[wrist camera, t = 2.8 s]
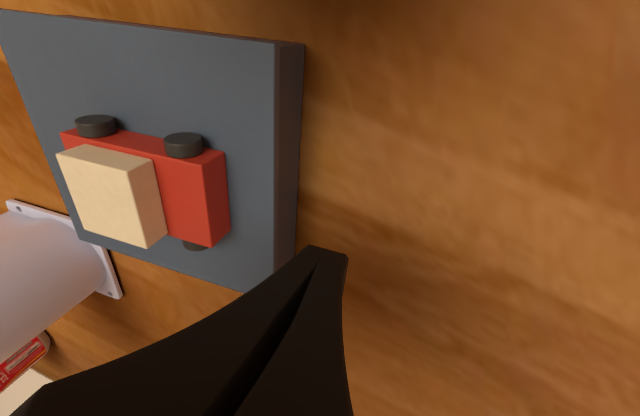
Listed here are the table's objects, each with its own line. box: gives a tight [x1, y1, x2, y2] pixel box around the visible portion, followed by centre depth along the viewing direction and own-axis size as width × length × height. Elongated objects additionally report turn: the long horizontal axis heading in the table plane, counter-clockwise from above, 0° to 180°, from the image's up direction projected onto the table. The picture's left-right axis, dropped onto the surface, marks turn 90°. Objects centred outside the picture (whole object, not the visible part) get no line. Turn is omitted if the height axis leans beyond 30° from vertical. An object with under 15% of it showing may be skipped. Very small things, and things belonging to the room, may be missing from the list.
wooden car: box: [56, 115, 231, 251], centre depth 14 cm, size 7×5×3 cm
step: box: [0, 8, 305, 293], centre depth 17 cm, size 13×12×4 cm
